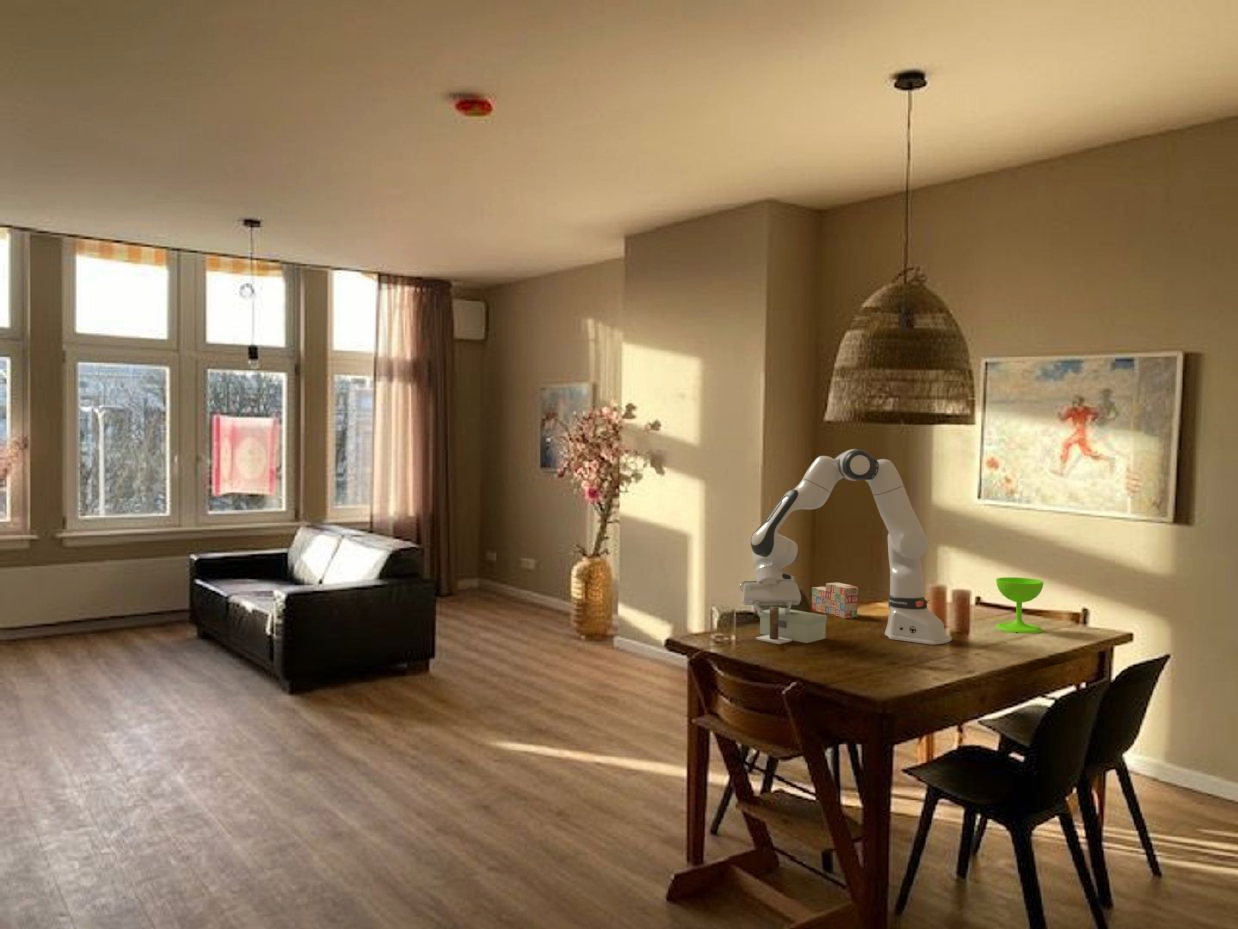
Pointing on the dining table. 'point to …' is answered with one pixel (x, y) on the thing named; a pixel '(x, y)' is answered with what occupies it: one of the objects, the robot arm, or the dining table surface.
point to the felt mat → (777, 641)
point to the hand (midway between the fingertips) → (774, 613)
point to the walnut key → (774, 622)
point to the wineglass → (1019, 601)
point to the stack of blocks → (836, 599)
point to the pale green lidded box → (796, 625)
